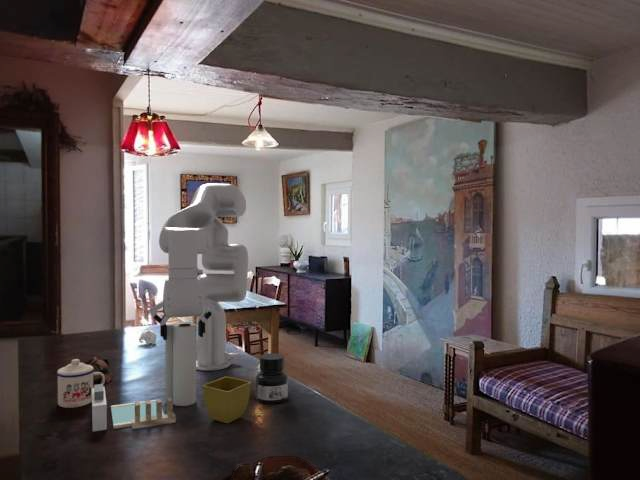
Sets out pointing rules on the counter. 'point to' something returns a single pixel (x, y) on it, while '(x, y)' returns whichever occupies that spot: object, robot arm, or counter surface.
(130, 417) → the pad
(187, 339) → the paper towel roll
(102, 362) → the pottery mug
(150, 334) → the elephant figurine
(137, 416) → the cable comb
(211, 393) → the flower pot
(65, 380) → the teacup with lid
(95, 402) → the block
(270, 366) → the ink bottle
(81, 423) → the counter surface
